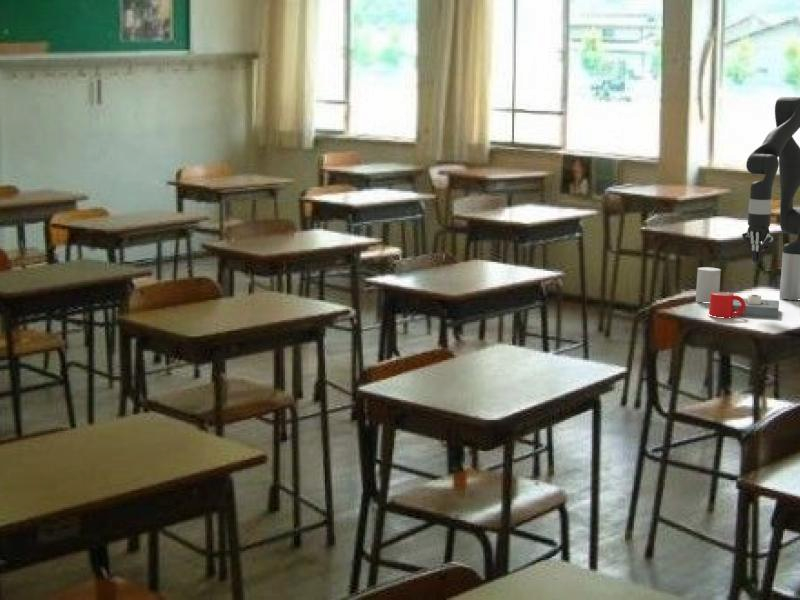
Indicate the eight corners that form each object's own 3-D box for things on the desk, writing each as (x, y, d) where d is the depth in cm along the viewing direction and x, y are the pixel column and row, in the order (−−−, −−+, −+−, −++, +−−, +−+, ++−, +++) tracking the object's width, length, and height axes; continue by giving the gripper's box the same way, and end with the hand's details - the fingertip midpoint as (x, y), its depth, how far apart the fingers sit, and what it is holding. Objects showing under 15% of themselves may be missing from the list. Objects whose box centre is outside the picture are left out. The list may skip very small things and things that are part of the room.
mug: (744, 320, 442) (745, 297, 441) (708, 317, 445) (709, 294, 444) (745, 316, 449) (746, 293, 448) (709, 313, 453) (710, 291, 451)
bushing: (752, 311, 459) (754, 293, 458) (762, 313, 455) (763, 295, 454) (744, 312, 456) (745, 294, 455) (754, 314, 453) (755, 296, 452)
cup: (720, 303, 472) (722, 270, 470) (698, 303, 472) (700, 270, 470) (715, 299, 480) (717, 267, 478) (693, 299, 480) (695, 267, 478)
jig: (731, 307, 465) (732, 297, 465) (778, 310, 461) (779, 300, 460) (729, 315, 450) (729, 305, 450) (777, 318, 446) (778, 308, 445)
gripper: (782, 213, 447) (779, 263, 451) (752, 209, 458) (749, 258, 461) (767, 214, 443) (764, 265, 447) (737, 210, 454) (734, 260, 457)
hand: (756, 261), depth 454 cm, fingers closed
